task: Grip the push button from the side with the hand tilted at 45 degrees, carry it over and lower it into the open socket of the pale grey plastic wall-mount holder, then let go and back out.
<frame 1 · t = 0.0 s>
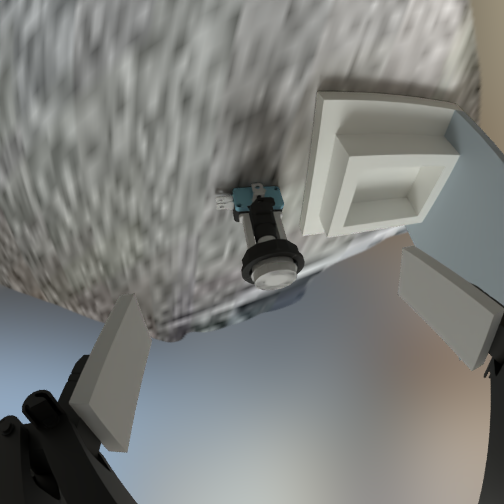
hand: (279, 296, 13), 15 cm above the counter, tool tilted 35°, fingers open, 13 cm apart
holder: (376, 166, 28), on the counter
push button: (248, 191, 29), on the counter
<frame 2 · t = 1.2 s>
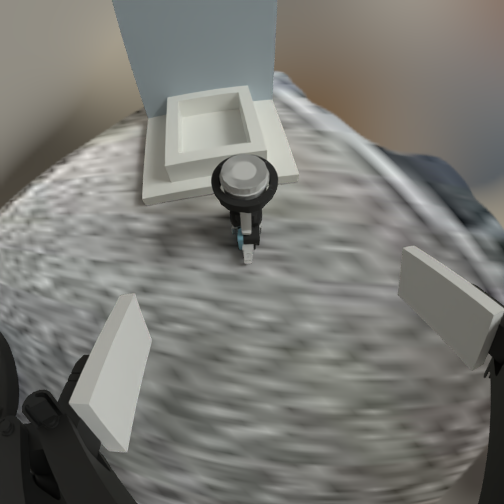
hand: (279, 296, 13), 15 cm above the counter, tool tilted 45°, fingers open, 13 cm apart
holder: (214, 144, 36), on the counter
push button: (246, 236, 31), on the counter
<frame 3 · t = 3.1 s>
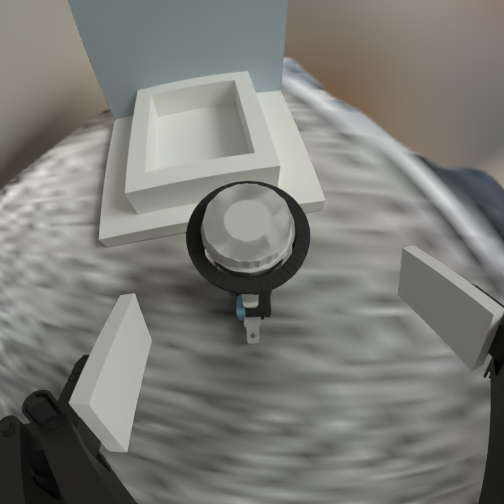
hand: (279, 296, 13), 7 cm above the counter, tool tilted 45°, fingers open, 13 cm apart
holder: (202, 153, 26), on the counter
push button: (250, 298, 21), on the counter
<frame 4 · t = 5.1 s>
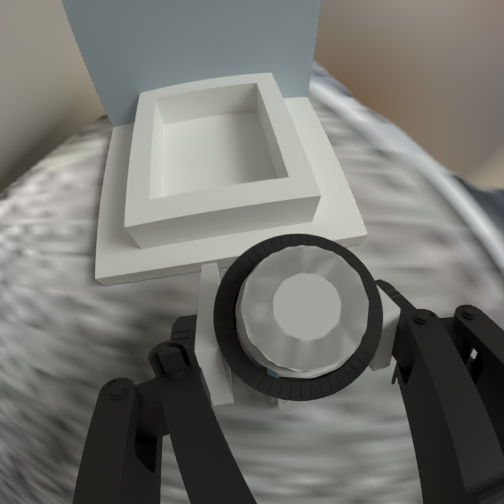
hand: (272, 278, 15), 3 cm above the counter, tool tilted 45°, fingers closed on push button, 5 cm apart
holder: (217, 170, 22), on the counter
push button: (280, 353, 17), on the counter, touching gripper
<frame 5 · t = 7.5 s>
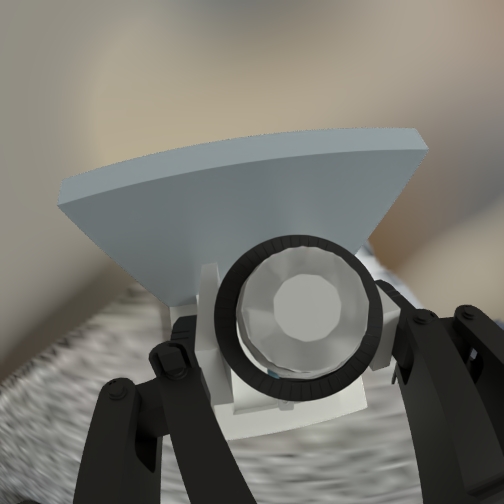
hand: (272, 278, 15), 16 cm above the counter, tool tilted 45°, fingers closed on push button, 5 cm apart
holder: (266, 356, 29), on the counter
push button: (280, 353, 17), point 13 cm above the counter, touching gripper
when the fingers open (6 cm above the counter, at t = 10.2 s): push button drops 1 cm, resting on holder.
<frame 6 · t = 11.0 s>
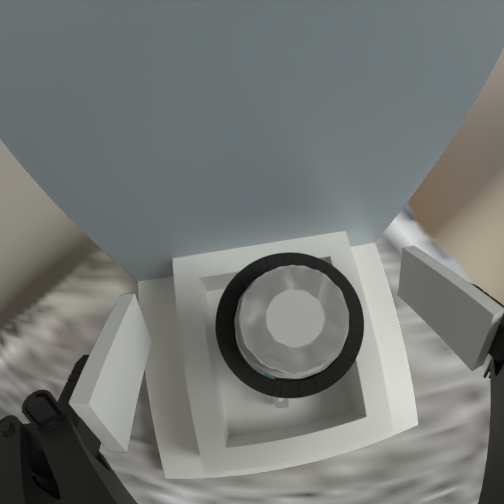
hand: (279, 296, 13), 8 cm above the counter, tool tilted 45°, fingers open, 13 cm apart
holder: (276, 355, 19), on the counter
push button: (277, 355, 18), point 1 cm above the counter, touching holder
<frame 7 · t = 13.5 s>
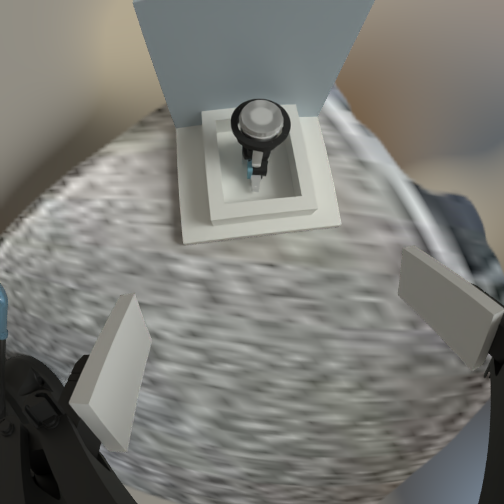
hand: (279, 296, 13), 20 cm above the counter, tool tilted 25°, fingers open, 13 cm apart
holder: (254, 170, 34), on the counter
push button: (254, 167, 33), point 1 cm above the counter, touching holder
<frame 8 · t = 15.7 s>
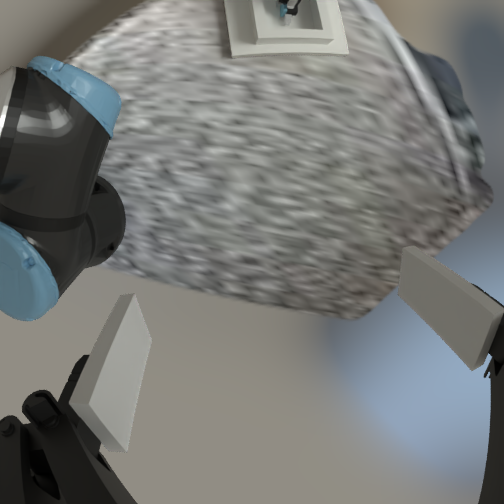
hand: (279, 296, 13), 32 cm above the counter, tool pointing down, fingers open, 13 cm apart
holder: (283, 13, 33), on the counter
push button: (285, 10, 32), point 1 cm above the counter, touching holder
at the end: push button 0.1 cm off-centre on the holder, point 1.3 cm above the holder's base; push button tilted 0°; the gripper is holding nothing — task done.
